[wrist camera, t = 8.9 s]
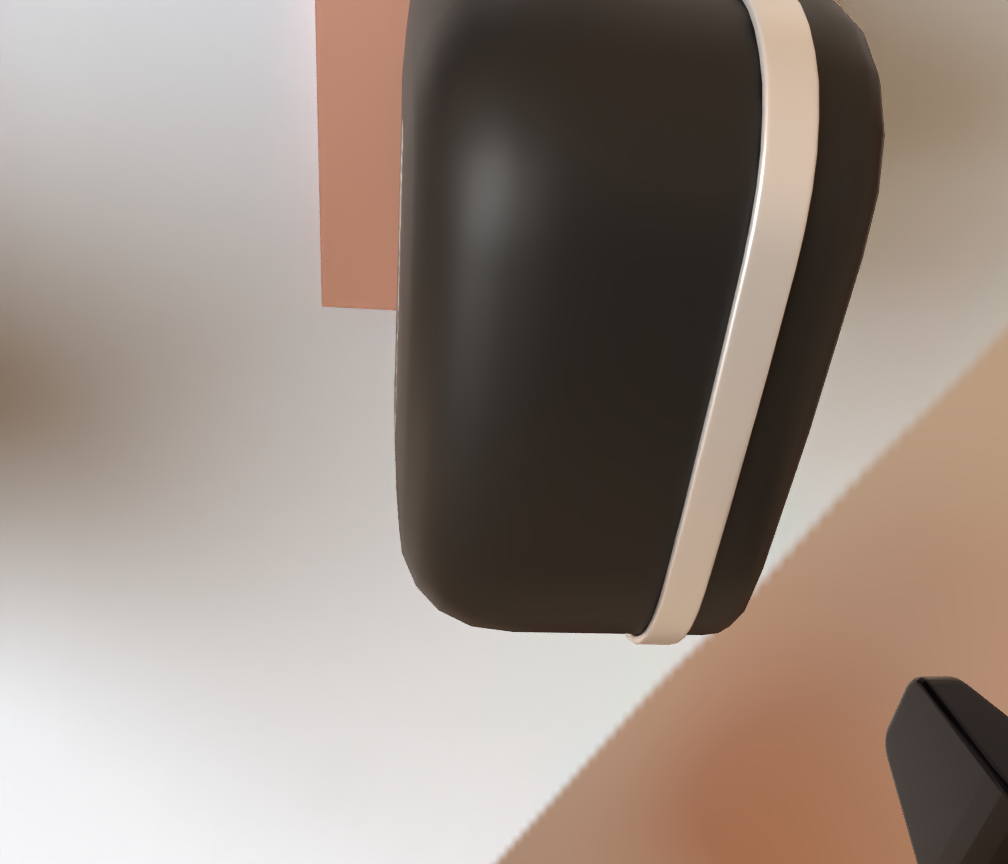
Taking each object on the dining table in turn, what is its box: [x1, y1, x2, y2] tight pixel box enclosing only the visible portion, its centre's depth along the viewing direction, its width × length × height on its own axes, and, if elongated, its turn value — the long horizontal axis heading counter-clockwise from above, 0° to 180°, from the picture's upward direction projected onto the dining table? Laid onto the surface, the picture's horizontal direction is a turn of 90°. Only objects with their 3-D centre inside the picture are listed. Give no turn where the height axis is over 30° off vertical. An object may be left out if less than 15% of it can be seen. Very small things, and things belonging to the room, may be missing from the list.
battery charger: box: [394, 0, 885, 645], centre depth 13 cm, size 7×4×11 cm, turn 175°
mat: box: [315, 0, 410, 310], centre depth 18 cm, size 9×9×1 cm
